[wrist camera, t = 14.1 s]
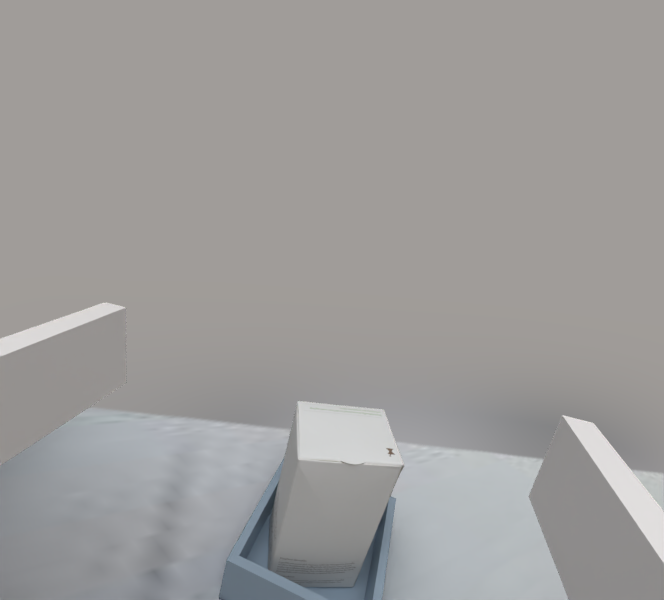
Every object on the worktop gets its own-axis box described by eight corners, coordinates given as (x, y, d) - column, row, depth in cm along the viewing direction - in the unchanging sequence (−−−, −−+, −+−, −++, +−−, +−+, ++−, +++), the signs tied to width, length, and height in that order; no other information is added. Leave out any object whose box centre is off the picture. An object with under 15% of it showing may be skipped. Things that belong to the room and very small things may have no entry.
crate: (218, 597, 31) (226, 560, 29) (278, 484, 42) (287, 452, 40) (358, 670, 29) (376, 634, 27) (382, 530, 40) (395, 498, 38)
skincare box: (345, 523, 39) (388, 407, 33) (355, 594, 33) (411, 467, 27) (265, 519, 37) (296, 395, 31) (261, 593, 31) (298, 456, 25)
